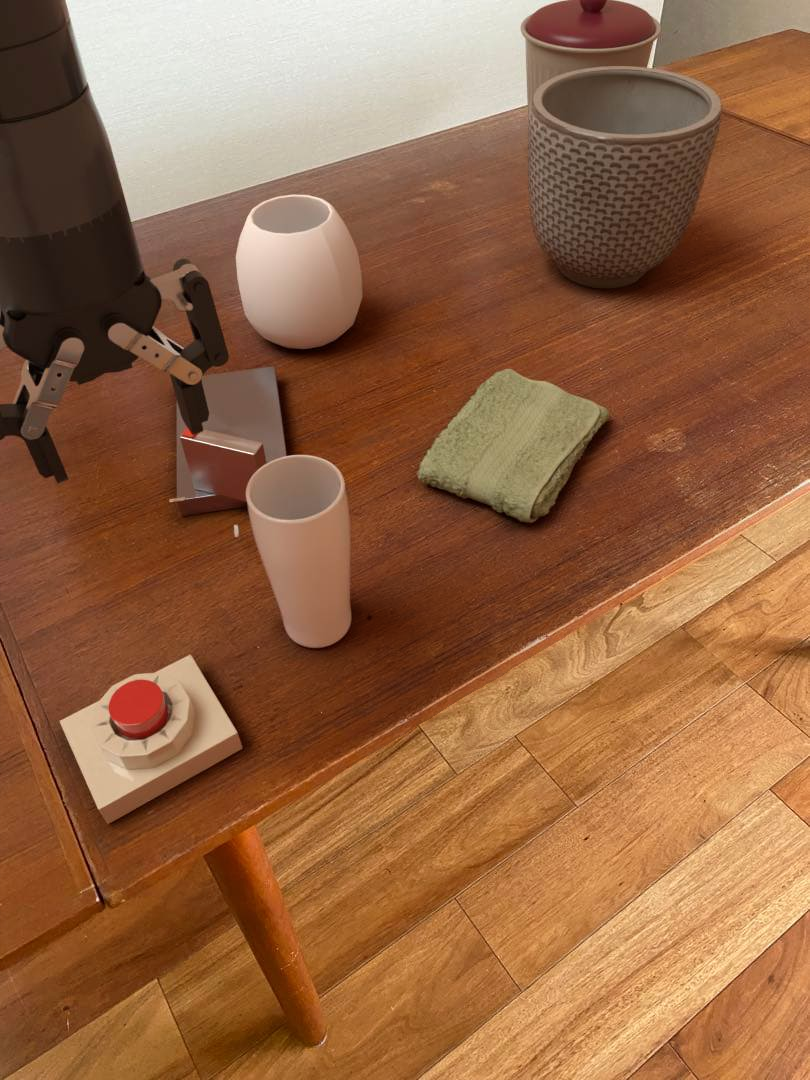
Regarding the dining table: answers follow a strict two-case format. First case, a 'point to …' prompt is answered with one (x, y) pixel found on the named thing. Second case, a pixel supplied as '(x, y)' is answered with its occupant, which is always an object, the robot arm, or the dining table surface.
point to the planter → (617, 168)
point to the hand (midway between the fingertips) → (128, 449)
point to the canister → (585, 38)
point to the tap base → (233, 429)
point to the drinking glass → (304, 544)
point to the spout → (222, 462)
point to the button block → (151, 742)
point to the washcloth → (513, 445)
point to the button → (138, 709)
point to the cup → (298, 272)
